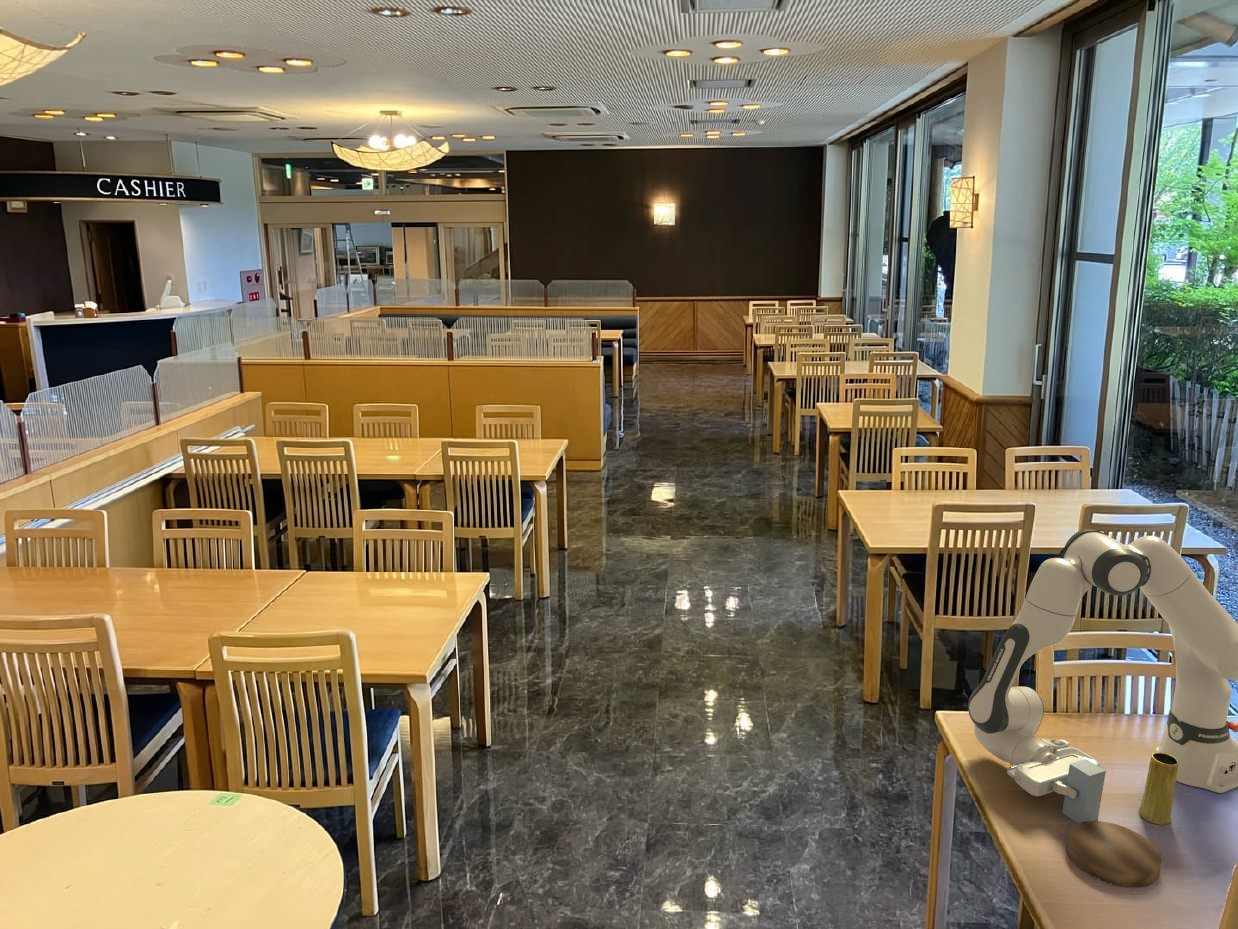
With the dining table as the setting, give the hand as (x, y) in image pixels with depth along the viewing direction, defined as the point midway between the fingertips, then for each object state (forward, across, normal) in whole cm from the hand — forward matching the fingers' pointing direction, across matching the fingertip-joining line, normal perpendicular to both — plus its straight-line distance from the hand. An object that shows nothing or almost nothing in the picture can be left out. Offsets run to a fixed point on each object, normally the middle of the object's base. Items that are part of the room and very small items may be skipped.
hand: (1087, 792), depth 210 cm
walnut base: (+12, -6, +6) cm, 15 cm away
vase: (+6, +15, +7) cm, 17 cm away
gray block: (-1, 0, +6) cm, 7 cm away
